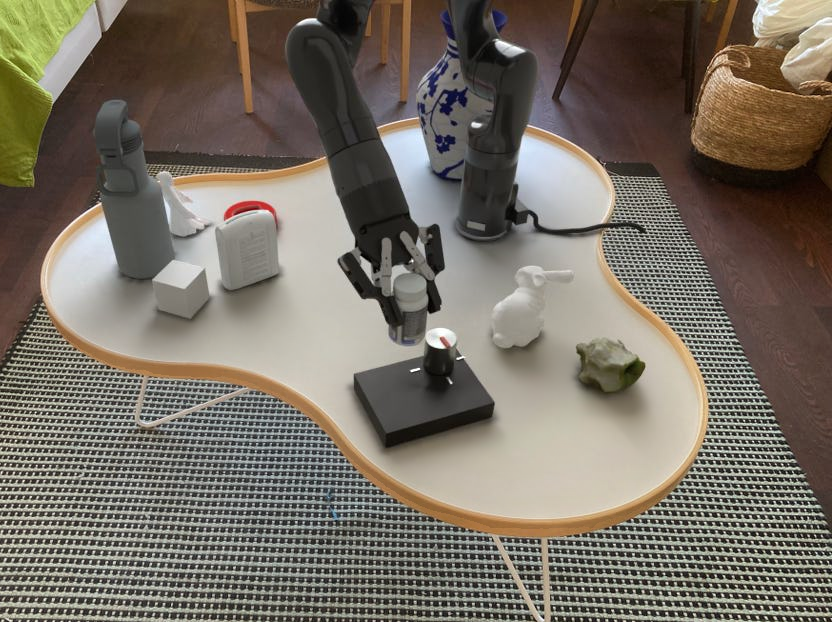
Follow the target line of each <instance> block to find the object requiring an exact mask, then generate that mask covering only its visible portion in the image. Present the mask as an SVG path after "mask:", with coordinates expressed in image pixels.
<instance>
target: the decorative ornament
mask: <svg viewBox="0 0 832 622" xmlns="http://www.w3.org/2000/svg"><path fill="white" fill-rule="evenodd" d="M254 210H268V211H269V212H270V213H272V214H273V217H274V219H275V223H276V232H277V231H278V218H277V217H278V216H277V211H276V209H275V208H274V207H273V206H272V205H271V204H269V203H267V202H265V201H262V200H244V201H240V202H239V201H238V202H236V203H234V204H232V205H231V206H229V207H228V208H227V209H226V210H225V212H224V214H223V222H224V221H225V220H227V219H229V218H231V217H233V216H236V215H238V214H241V213H244V212H248V211H254Z"/></svg>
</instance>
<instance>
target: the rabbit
mask: <svg viewBox="0 0 832 622" xmlns="http://www.w3.org/2000/svg"><path fill="white" fill-rule="evenodd" d="M574 276H575V273H574V271H573V270H571V269H567V270H548V271H544V270H543V268H541V267H540V266H538V265H527V266H526V265H525V266H522V267H521V268H520V269H518V270H517V272H516V275H514V281H515V282H516V283H517V284H518V287H517V288H515V290H514V291H513V293H512V294H510V295H508V296H506V297H505V298H504V299H503V300H501V301H499V302H498V303H497V304H496V305H495V307H494V308H493V309H492V314H491V329H492V332H493V333H492V334H493V336H492V342H493V343H494V344H495V346H496V347H498V348H502V349H509V348H512V347H513V346H515V347H519V348H522V347H526V346H527V345H528V344H530V342H532V341H533V340H535V339H537V338H538V337H539V336H540V332H541V331H542V329H543V327H544V324H545V317H544V316H543V315H542V312H543V311H544V309H545V305H546V304H545V303H546V296H545V292H544V289H545V287H546V285H547V282H551V283H559V284H560V283H561V284H570V283H572V282H573V280H574Z"/></svg>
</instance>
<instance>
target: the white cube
mask: <svg viewBox="0 0 832 622" xmlns="http://www.w3.org/2000/svg"><path fill="white" fill-rule="evenodd" d="M151 282H152V287H153V291H154V295H155V299H156V303H157V308H158V311H161V312H165V313H168V314H172V315H175V316H179V317H183V318H186V319H189V320H191V319H192V318H193V317H194V316H195V315H196V314H197V313H198V311H199V310H200V309H201V308H202V307H203V306H204V305H205V303H207V301H209V299H210V298H211V295H210V290H209V283H208V278H207V272H206V268H205V267H203V266H200V265H195V264H192V263H187V262H184V261H180V260H176V259H175V260H172V261H171V262H170V263H169V264H168V265H167V266H166V267H165V268H164V269H163V270H162V271H161V272H160V273H159V274H158V275H157V276H156V277H153V278H152V279H151Z"/></svg>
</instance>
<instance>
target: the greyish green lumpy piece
mask: <svg viewBox="0 0 832 622" xmlns="http://www.w3.org/2000/svg"><path fill="white" fill-rule="evenodd" d="M575 350H576V354H577V355H579V356H580V357H579V362H580V365H581V366H580V367H581V373H580V374H579V375H578V379H579V380H580V382H581V383H583V384H585V385H587V386H589V387H591V388H593V389H595V390H597V391H601V392H603V393H620V392H622V391H625V390H628V389H629V388H631V387H632V386H633V385H634V384H635V383H637V381H639V379H640V378H641V377H642V375H643V373H644V371H645V369H646V362H645V361H643V360H641V359H640V357H639V355H638V354H637V353H633V352H632V351H630V350H628V349H627V348H626V346H625V344H624V342H623V341H622V340H620V339H617V341H615V340H613V339H610V338H606V337H601V338H598V337H597V338H594V339H592V340H591V341H590V342H589V343H586V342H579V343H577V344H576V345H575Z"/></svg>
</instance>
